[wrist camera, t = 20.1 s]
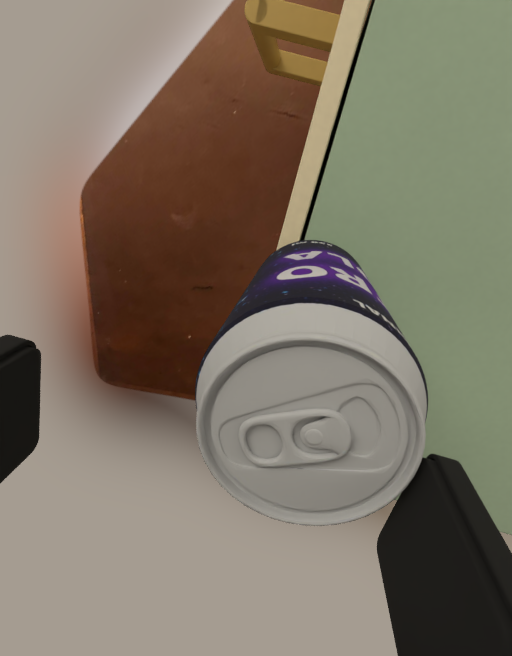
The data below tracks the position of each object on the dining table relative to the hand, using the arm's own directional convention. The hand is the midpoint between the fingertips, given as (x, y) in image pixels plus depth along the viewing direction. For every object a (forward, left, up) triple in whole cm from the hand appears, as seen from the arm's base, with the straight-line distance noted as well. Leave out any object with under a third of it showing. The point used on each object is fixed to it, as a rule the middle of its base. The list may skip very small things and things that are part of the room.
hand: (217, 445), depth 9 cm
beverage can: (+2, +1, -12) cm, 12 cm away
